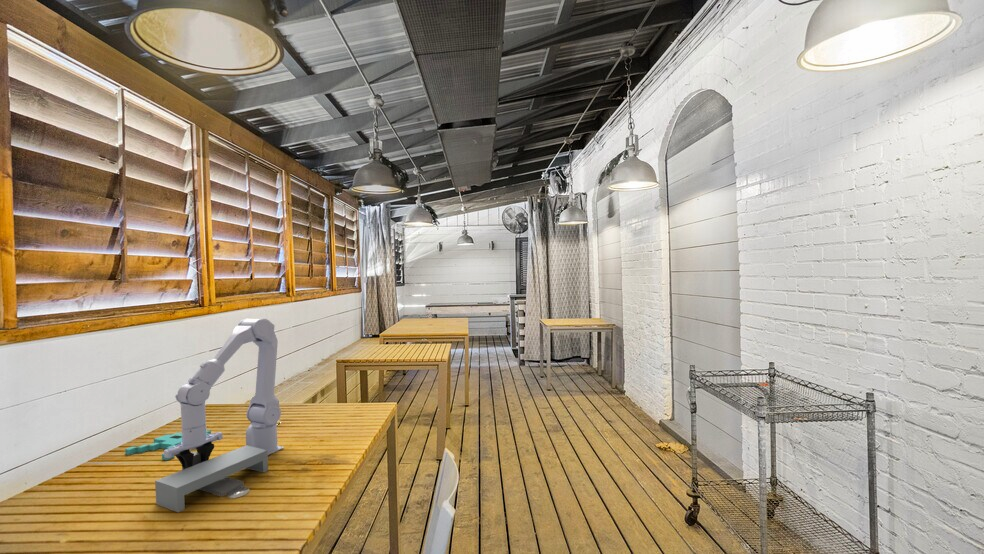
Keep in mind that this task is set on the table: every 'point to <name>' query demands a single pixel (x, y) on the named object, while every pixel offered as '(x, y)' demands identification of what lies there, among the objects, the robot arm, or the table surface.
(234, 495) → the steel disc
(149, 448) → the alien figure
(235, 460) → the grey bench
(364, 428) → the table surface
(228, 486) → the scraper
